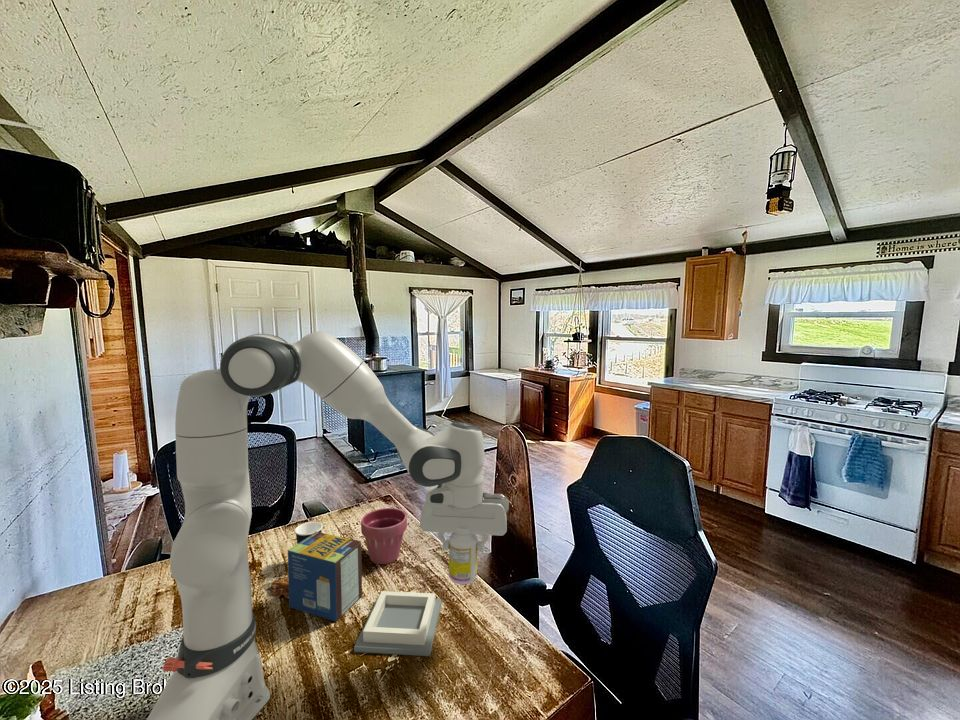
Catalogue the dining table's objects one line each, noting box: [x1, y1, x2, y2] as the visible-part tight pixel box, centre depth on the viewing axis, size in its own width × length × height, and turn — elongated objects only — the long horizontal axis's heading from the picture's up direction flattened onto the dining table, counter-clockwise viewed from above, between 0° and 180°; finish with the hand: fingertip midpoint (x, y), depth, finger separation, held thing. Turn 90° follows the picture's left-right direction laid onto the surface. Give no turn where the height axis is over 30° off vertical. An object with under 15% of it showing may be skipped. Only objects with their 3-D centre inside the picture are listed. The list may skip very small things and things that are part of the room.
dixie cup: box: [294, 521, 324, 544], centre depth 122 cm, size 8×8×11 cm
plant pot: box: [360, 507, 408, 565], centre depth 125 cm, size 14×14×13 cm
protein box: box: [287, 532, 363, 622], centre depth 104 cm, size 10×15×16 cm
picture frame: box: [353, 590, 443, 657], centre depth 96 cm, size 17×17×4 cm
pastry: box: [262, 576, 289, 599], centre depth 109 cm, size 7×12×4 cm, turn 75°
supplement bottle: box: [448, 528, 479, 585], centre depth 93 cm, size 7×7×13 cm
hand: (463, 549), depth 93 cm, fingers closed on supplement bottle, 7 cm apart
